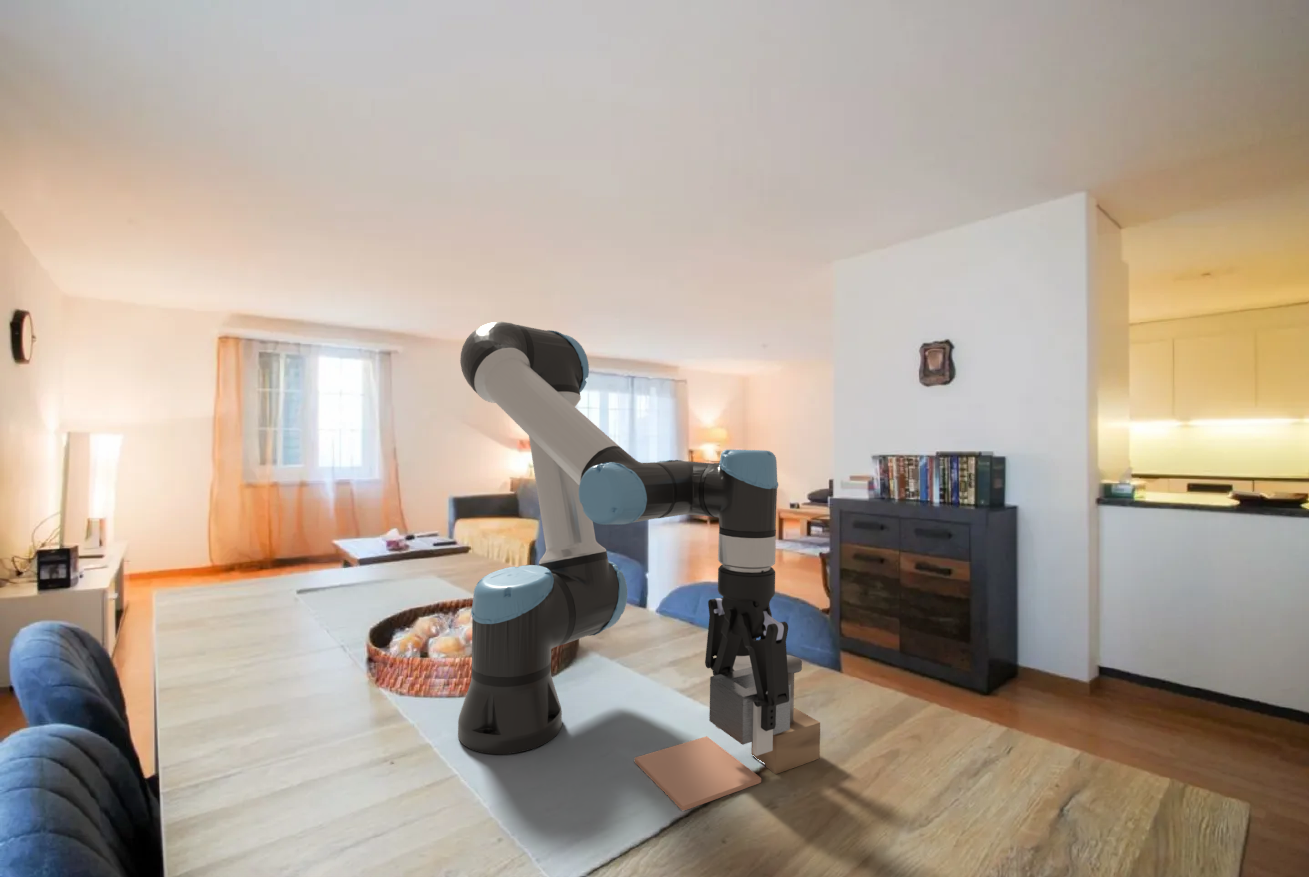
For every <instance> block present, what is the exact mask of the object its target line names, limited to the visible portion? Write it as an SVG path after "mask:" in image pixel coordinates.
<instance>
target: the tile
mask: <svg viewBox="0 0 1309 877" xmlns="http://www.w3.org/2000/svg"><path fill="white" fill-rule="evenodd" d="M634 763H635V764H636V765H637V766H638V767H639V768H640V769H641V770H642V772H644V773H645V774H646V775H647V777H649V778H650V779H651V781H653V782H654V784H656V786H657V787H658V788H659V789H660V790H661V791H662V792H663V791H664V792H665V795H666V796H667V795H668V796H667V797H668V798H669V799H670V800H671V801H672V800H673V801H674V802H675V803H674V802H673V801H672V802H673V803H674V804H675V805H676V806H677V807H678V808H679V809H680V810H681V811H682V812H685V811H687V810H690V809H693V808H696V807H699V806H701V805H703V804H706V803H709V802H712V801H714V800H717V799H720V798H722V797H723V798H724V797H725V796H728V795H731V794H733V793H734V794H735V793H736V792H739V791H742V790H744V789H748V788H750V787H753V786H755V785H758V784H760V783H762V778H761V777H760V776H759V775H758V774H756V772H754V771H753V770H752V769H750V768H749V767H748V766H746V765H745V764H744V763H742V762H741V761H740V760H738V759H737V758H736V757H735V756H733V755H732V754H731V753H729V752H728V751H727V750H726V749H724V748H723V747H721V745H719V744H718V743H717V742H715V741H714V740H712V739H711V738H710V737H709V736H707V735H706V736H703V737H700V738H696V739H694V740H690V741H689V740H688V741H686V742H683V743H680V744H676V745H672V746H669V747H666V748H662V749H658V750H656V751H652V752H649V753H645V754H643V755H639V756H635V757H634ZM664 792H663V793H664ZM684 810H685V811H684Z"/></svg>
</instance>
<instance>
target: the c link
mask: <svg viewBox="0 0 1309 877" xmlns="http://www.w3.org/2000/svg"><path fill="white" fill-rule="evenodd" d="M709 677H710V678H709V715H708V716H709V719H708V720H709V722H710V723H712V724H713V725H714V726H715V727H716V726H717V727H718V728H720V729H719V730H721V731H723V732H724V733H725V734H727V735H729V737H731V738H733V739H734V741H735V740H736V741H737V742H738V743H739V744H741V745H743V746H744V745H747V744H749V743H752V742H753V702H754V701H758V696H757V691H756V686H755V681H754V676H753V671H752V667H749V668H745V669H741V670H737V671H732V672H728V673H724V674H720V675H715V676H714V675H712V676H709ZM788 684H789V683H788ZM767 693H768V691H767V692H766V694H767ZM790 696H791V684H789V701H788V702H786V703H782V704H779V705H776V726H775V729H773V735H775V734H778V733H781V732H784V731H787V730H790ZM717 727H716V728H717ZM718 728H717V729H718Z"/></svg>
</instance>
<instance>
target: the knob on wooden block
mask: <svg viewBox="0 0 1309 877" xmlns="http://www.w3.org/2000/svg"><path fill="white" fill-rule="evenodd" d="M802 661H803V660H802V659H800V658H799V657H796V656H793V655H788V654H787V667H788V683H789V684H791V696H790V730H787V731H784V732H781V733H778V734H775V735H773V751H770V752H767V753H764V754H761V755H758V756H755V755H754V754H753V753H752V751H751V753H750V754H752V755H754V756H755V757H756V758H757V759H759V760H761V761H762V762H764V763H765V765H766V769H768V770H769V771H771V772H772V773H774V774H775V775H778V774H780V773H783V772H785V771H789V770H792V769H793V768H798V767H800V766H803V765H805V764H808V763H811V762H813V761H816V760H819V759H820V755H821V722H820V721H819V720H816V718H813V717H812V716H809V715H808V714H806V713H804V712H803V711H801V710H800V709H797V708H796V707H794V706H795V704H794V703H795V674H796V673H799V672H801V671H802V669H803V667H802V666H803V662H802ZM752 746H753V742H751V747H752Z"/></svg>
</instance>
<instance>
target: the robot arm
mask: <svg viewBox="0 0 1309 877" xmlns="http://www.w3.org/2000/svg"><path fill="white" fill-rule="evenodd" d="M460 351H461V352H460V360H459V361H460V366H461V367H460V368H461V371H462V375H463V377H464V380H466V382H467V384H468V385H469V386H470V387H471V389H472V390H473V391H474V392H475V393H476V394H477V395H478V396H479V397H480V398H481V399H482V400H484V401H486V402H487V403H492V404H496V405H497V406H498V407H499V408H500V409H502V411H504V412H505V414H507V415H508V417H509V418H511V419H512V420H513V421H514V422H515V424H517V425H518V426H519V427H520V428H521V430H522V431H523V432H524V433H525V434H526V435H528V439H529V446H530V451H531V458H532V465H533V471H534V478H535V479H534V480H535V486H536V491H537V492H536V493H537V499H538V504H539V505H538V506H539V511H540V518H541V524H542V525H541V526H542V531H543V538H544V545H545V553H544V554H543V555H542V557H540V559H539V561H538V565H537V564H535V565H533V564H526V565H525V564H524V565H519V566H508V567H505V568H501V569H498V570H496V571H492V572H490V573H487V575H484V577H482V578H480V579H479V581H478V582H477V583H476V586H474V590H473V596H472V605H471V610H470V614H471V615H470V616H471V618H472V619H471V622H472V625H471V678H470V683H469V685H468V686H469V687H468V690H467V691H466V694H465V698H464V700H463V703H462V706H461V710H460V712H459V716H458V719H457V720H458V721H457V722H458V724H457V736H458V740H459V741H460V742H461V744H462V745H463V746H465V747H466V748H468V749H470V750H472V751H475V752H477V753H479V752H480V753H484V754H492V755H508V754H509V755H510V754H516V753H521V752H525V751H530V750H533V749H537V748H539V747H542V746H543V745H545V744H547V743H549V742H551V740H553V739H554V738H555V737H556V736H557V735H558V734H559V733H560V731H561V729H562V723H563V722H562V720H563V719H562V718H563V717H562V715H563V710H562V706H561V703H560V699H559V696H558V693H557V690H556V687H555V683H554V681H553V680H554V679H553V677H552V672H551V670H552V650H553V649H555V648H556V647H559V646H563V645H566V644H568V643H571V642H574V641H577V640H579V639H582V638H585V637H590V636H596V635H598V634H600V633H602V632H603V631H605V630H607V629H609V628H611V627H613V626H615V625H616V623H618V622H619V621H620V619H621V616H622V615H623V614H624V612H625V609H626V607H627V601H628V584H627V581H626V578H625V575H624V573H623V571H622V570H620V569H619V566H618V565H617V564H616V563H615V562H613V561H610V560H609V558H608V551H607V549H606V548H605V547H604V546H602V545H601V544H600V543H599V542H598V541H597V539H596V534H595V528H594V523H595V524H598V525H602V526H603V525H604V526H606V525H607V526H608V525H616V526H621V525H628V524H633V523H637V522H645V521H648V520H655V519H663V518H670V517H676V516H677V517H678V516H684V515H689V516H690V515H691V516H702V517H710V518H718V526H719V527H718V547H717V548H718V550H717V552H718V553H717V560H718V562H719V563H720V565H719V567H718V569H717V593H718V594H719V595H720V596H722V597H719V598H718V597H717V598H712V599H711V598H710V599H709V600H708V601H707V603H708V605H707V606H708V613H709V618H708V619H709V621H708V628H707V637H706V638H707V639H706V649H705V659H704V665H705V667H706V668H707V669H710V670H712V676H715V675H720V674H724V673H728V672H732V671H734V669H733V666H734V662H735V659H736V655H737V652H738V649H739V645H740V642H741V639H742V638H743V642H744V646H745V648H747V649H748V651H749V656H750V661H751V666H752V671H753V676H754V681H755V686H756V691H757V696H758V701H754V702H753V746H752V745H751V752H752V753H753V754H754V755H755V756H758V755H761V754H764V753H767V752H770V751H773V729H775V726H776V705H779V704H782V703H786V702H788V701H789V684H788V667H787V655H788V653H787V638H788V632H789V624H788V623H787V622H786V621H778V620H776V619H775V618H773V615H772V611H771V608H770V607H771V606H770V602H771V600H772V599H773V597H774V596H775V594H776V571H775V569H774V568H773V566H775V564H776V546H777V544H776V541H777V534H776V533H777V532H776V531H777V527H776V523H777V520H776V519H777V501H778V499H777V498H778V487H779V482H778V465H777V463H778V462H777V457H776V455H775V454H774V452H772V451H770V450H764V449H763V450H762V449H725V450H723V451H721V454H720V459H719V462H714V463H713V462H712V463H711V462H701V461H700V462H699V461H689V460H688V461H686V460H685V461H683V460H681V459H675V460H673V459H669V460H660V461H657V462H655V461H654V462H640V461H638V460H636V458H634V457H633V456H631V455H630V454H629V453H628V452H627V451H625V450H624V449H623V448H622V447H621V446H620V445H618V444H617V443H616V442H615V441H614V440H613V439H611V437H609V436H608V435H607V434H606V433H605V432H604V431H603V430H602V429H601V428H599V427H598V425H596V424H595V423H594V422H592V420H591V419H589V418H588V417H587V416H586V415H585V414H583V413H582V412H581V411H580V410H579V409H578V408H577V407H576V406H577V405H578V404H579V402H580V401H581V399H582V397H581V392H582V391H583V390H584V389H585V387H586V385H587V380H586V379H587V378H588V377H589V375H590V373H589V371H590V366H589V365H590V364H589V360H588V357H587V356H588V355H587V354H586V352H585V349H584V347H583V345H581V344H580V342H579V341H578V340H577V339H575V338H573V336H570V335H568V334H563V333H561V332H559V331H557V330H552V329H551V330H549V329H548V330H545V329H539V328H536V327H530V326H527V325H526V326H525V325H520V324H514V323H512V322H505V321H494V322H493V321H492V322H489V323H486V324H483V325H481V326H479V327H478V328H475V330H474V331H472V332H471V334H469V335H468V337H467V338H466V339H465V341H464V342H463V346H462V348H461V350H460ZM755 638H756V640H755V641H753V640H752V639H755ZM767 691H768V693H767V694H766V692H767ZM715 728H716V729H718V730H721V729H720V728H718V727H717V726H716V725H715Z"/></svg>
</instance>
